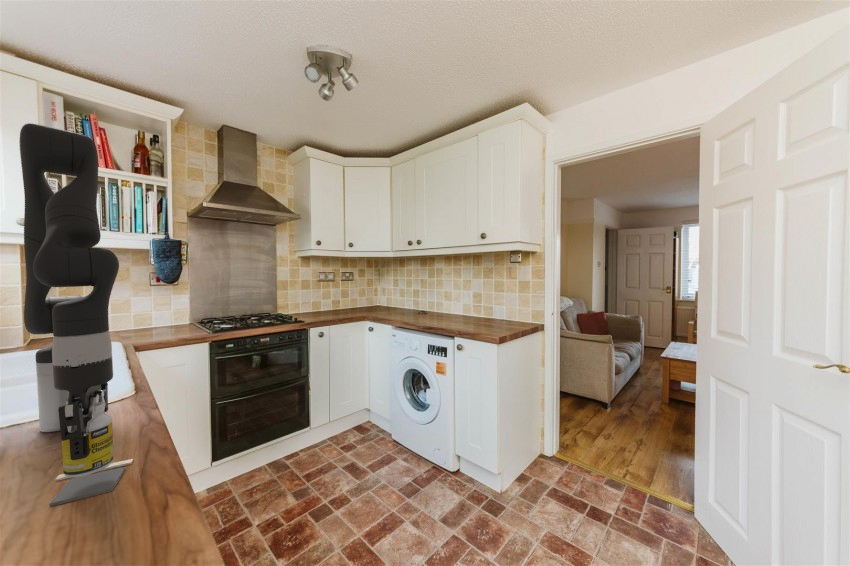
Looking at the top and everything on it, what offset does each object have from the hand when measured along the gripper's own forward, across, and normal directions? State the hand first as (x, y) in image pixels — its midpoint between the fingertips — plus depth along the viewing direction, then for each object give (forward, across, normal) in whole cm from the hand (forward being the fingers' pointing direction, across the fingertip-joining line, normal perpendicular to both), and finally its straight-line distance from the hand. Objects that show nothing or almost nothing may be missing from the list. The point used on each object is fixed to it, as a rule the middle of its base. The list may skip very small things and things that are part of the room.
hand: (88, 448), depth 61 cm
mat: (+7, 0, 0) cm, 7 cm away
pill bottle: (+4, 0, 0) cm, 4 cm away
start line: (+7, -6, -1) cm, 10 cm away
